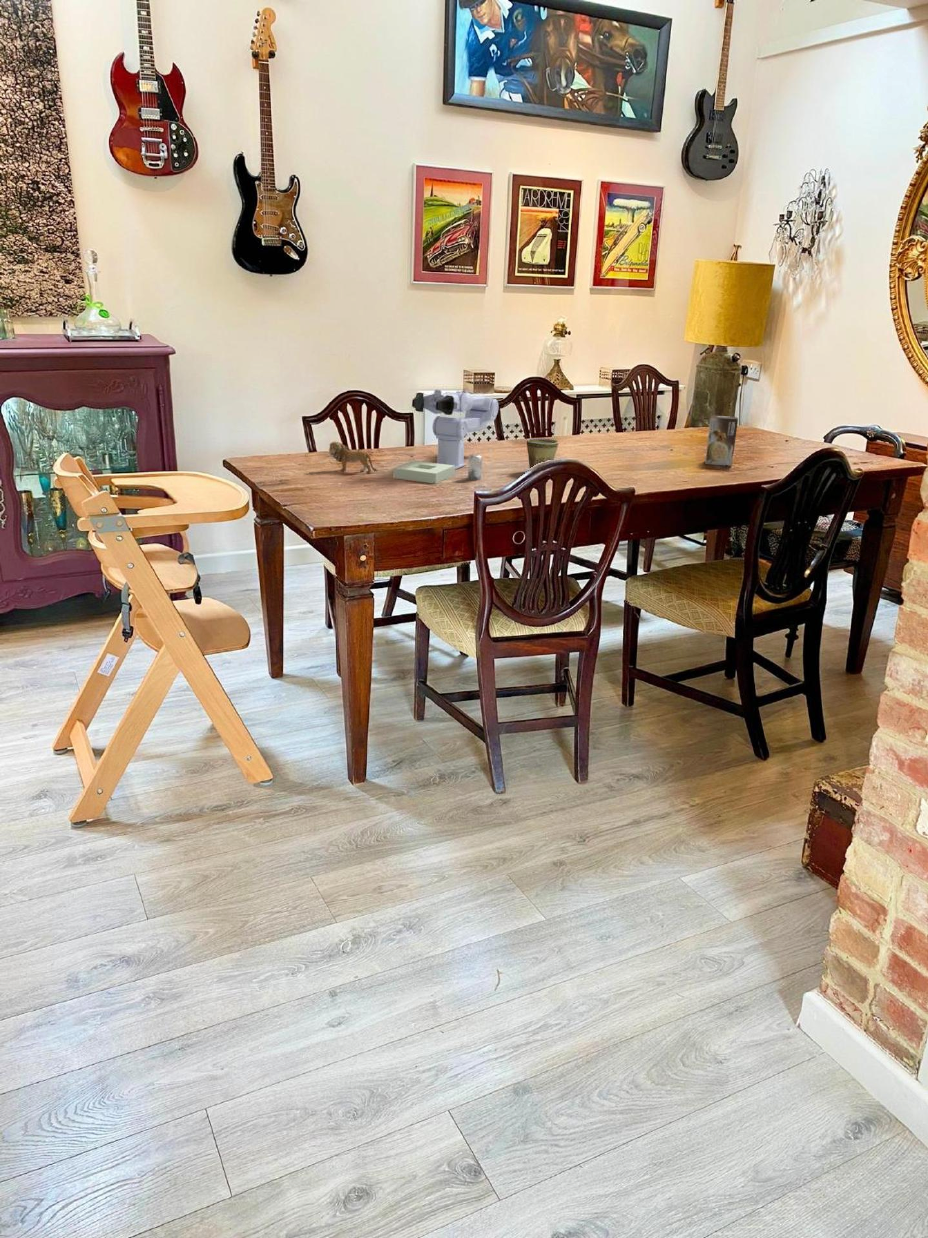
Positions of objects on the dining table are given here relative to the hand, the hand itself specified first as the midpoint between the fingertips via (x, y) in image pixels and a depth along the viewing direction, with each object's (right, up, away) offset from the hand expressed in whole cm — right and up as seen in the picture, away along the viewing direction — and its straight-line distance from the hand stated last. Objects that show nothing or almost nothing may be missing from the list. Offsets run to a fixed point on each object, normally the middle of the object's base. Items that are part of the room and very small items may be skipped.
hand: (425, 404), depth 256 cm
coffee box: (+100, -9, +49) cm, 112 cm away
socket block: (-1, -20, +9) cm, 22 cm away
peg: (+15, -20, +9) cm, 27 cm away
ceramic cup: (+36, -16, +23) cm, 46 cm away
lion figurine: (-23, -18, +11) cm, 31 cm away
